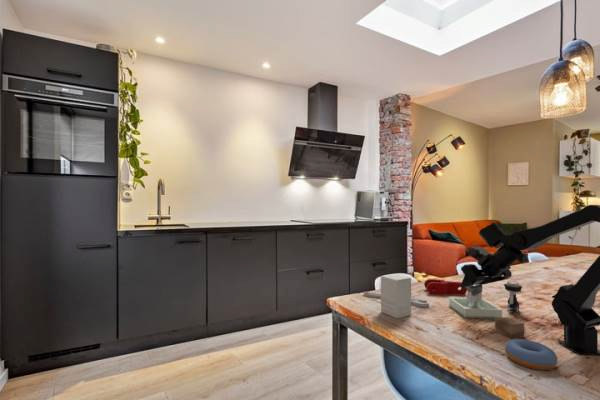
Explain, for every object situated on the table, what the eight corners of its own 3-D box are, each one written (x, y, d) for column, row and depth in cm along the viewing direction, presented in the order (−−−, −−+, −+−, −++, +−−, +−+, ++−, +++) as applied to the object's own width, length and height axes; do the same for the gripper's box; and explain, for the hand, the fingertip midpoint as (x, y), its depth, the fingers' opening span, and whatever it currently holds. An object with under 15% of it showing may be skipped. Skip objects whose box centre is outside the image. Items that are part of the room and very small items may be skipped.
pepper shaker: (481, 313, 102) (481, 287, 102) (465, 310, 105) (465, 284, 105) (483, 309, 106) (483, 284, 106) (467, 307, 109) (467, 282, 109)
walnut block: (524, 337, 86) (524, 323, 86) (511, 339, 84) (511, 325, 84) (507, 330, 91) (507, 316, 91) (494, 332, 89) (494, 318, 89)
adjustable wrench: (362, 296, 124) (362, 292, 124) (368, 293, 129) (368, 289, 129) (426, 309, 109) (426, 304, 109) (430, 304, 114) (430, 300, 114)
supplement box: (411, 315, 102) (412, 277, 102) (396, 319, 98) (396, 280, 99) (395, 308, 108) (395, 273, 109) (380, 311, 105) (380, 275, 105)
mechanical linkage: (427, 294, 127) (427, 282, 127) (424, 289, 134) (424, 278, 134) (468, 297, 123) (468, 285, 124) (463, 292, 130) (463, 280, 131)
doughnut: (550, 377, 65) (549, 354, 66) (498, 360, 73) (498, 340, 74) (563, 367, 71) (562, 347, 71) (514, 352, 79) (514, 334, 79)
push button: (518, 315, 102) (518, 286, 102) (500, 311, 106) (500, 283, 107) (524, 311, 106) (524, 283, 107) (506, 307, 111) (506, 280, 111)
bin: (502, 319, 99) (502, 309, 99) (464, 317, 100) (464, 308, 100) (482, 306, 111) (482, 298, 111) (449, 305, 112) (449, 297, 112)
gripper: (502, 238, 106) (473, 264, 116) (466, 240, 99) (438, 268, 108) (527, 265, 99) (493, 290, 109) (489, 269, 91) (457, 296, 101)
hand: (470, 285), depth 107 cm, fingers open, 9 cm apart
